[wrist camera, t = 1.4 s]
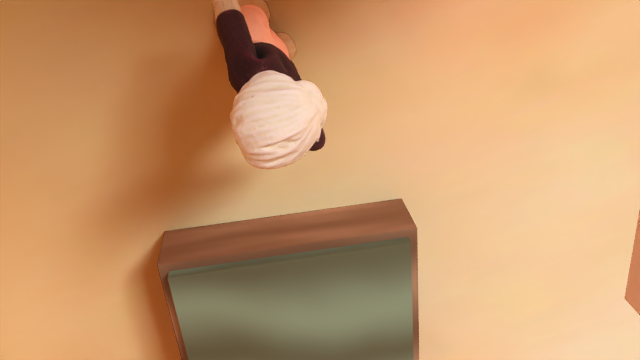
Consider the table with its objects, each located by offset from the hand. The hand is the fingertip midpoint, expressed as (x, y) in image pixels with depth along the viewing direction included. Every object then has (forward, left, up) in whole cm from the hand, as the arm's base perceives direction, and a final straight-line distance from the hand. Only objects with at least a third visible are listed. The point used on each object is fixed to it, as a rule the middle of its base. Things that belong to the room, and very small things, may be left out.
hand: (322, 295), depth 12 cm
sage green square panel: (+17, -1, -21) cm, 27 cm away
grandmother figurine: (0, -1, -21) cm, 21 cm away
